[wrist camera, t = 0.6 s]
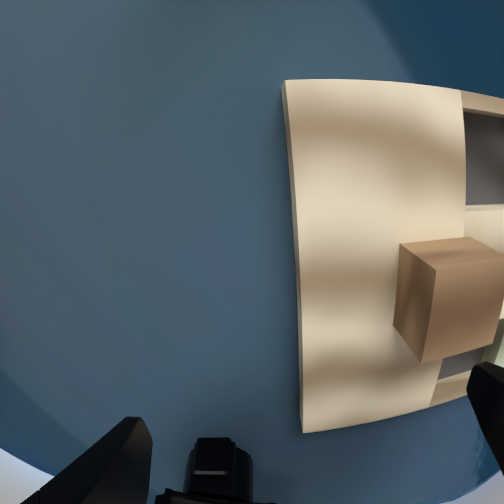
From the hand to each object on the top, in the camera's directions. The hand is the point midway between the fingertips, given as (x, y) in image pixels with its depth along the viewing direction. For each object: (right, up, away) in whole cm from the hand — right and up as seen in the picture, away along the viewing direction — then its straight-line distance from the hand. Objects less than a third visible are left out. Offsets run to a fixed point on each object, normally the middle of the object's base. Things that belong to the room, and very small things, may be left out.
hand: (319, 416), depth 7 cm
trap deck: (+14, +3, +11) cm, 18 cm away
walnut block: (+9, +2, +10) cm, 13 cm away
